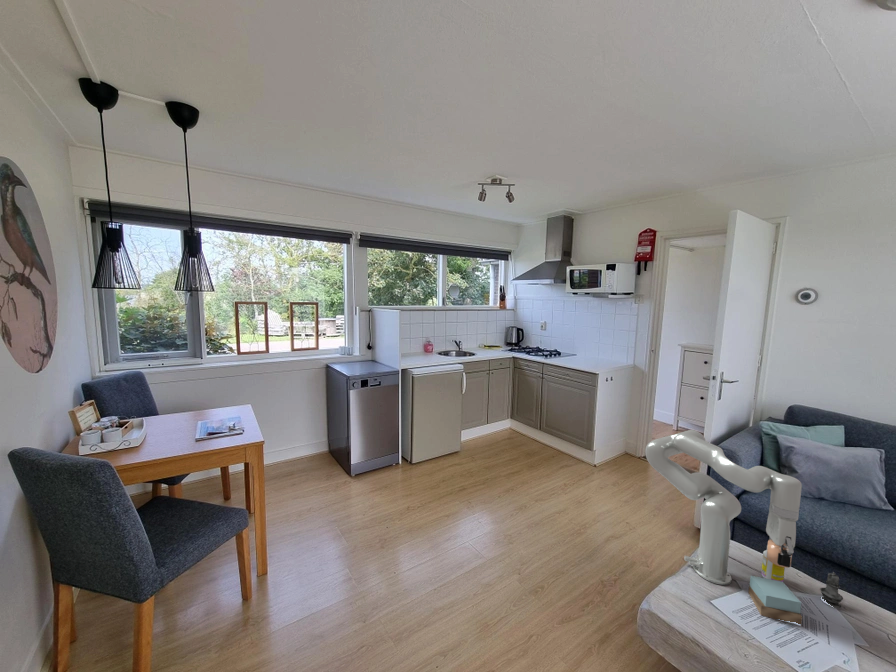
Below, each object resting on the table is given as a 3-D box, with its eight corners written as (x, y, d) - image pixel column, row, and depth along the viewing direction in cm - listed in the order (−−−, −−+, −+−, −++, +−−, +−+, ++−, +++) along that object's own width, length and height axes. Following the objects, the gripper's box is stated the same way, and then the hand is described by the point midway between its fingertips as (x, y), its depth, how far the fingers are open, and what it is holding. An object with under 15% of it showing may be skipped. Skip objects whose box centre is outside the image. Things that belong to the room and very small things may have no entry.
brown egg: (770, 564, 126) (772, 547, 125) (763, 553, 132) (765, 537, 131) (794, 569, 123) (796, 553, 123) (785, 558, 129) (787, 542, 129)
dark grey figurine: (847, 610, 129) (850, 579, 128) (827, 607, 130) (831, 576, 129) (833, 598, 134) (836, 567, 134) (814, 595, 136) (818, 565, 135)
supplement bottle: (786, 582, 142) (790, 551, 141) (777, 586, 139) (780, 555, 138) (766, 570, 148) (769, 541, 147) (757, 574, 145) (760, 544, 145)
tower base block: (760, 616, 125) (761, 605, 125) (748, 593, 136) (749, 583, 135) (801, 627, 121) (802, 616, 121) (785, 603, 131) (786, 593, 131)
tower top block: (765, 606, 125) (766, 595, 125) (749, 585, 134) (750, 575, 134) (800, 613, 122) (801, 602, 122) (781, 591, 132) (782, 581, 132)
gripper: (760, 497, 136) (756, 542, 137) (781, 520, 120) (776, 571, 121) (785, 501, 133) (781, 547, 134) (810, 526, 117) (805, 578, 118)
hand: (778, 558), depth 127 cm, fingers closed on brown egg, 6 cm apart
